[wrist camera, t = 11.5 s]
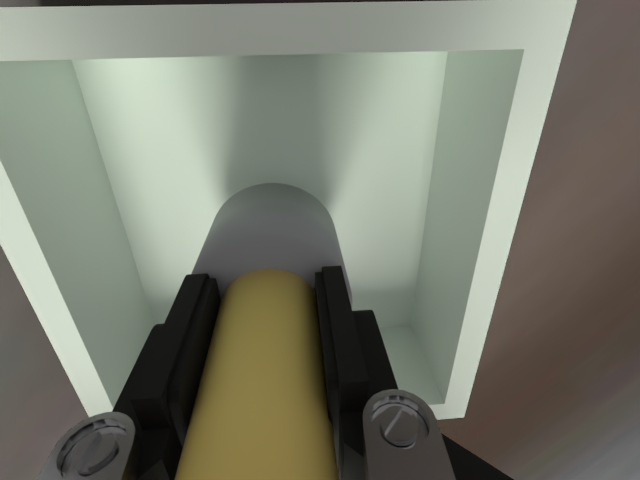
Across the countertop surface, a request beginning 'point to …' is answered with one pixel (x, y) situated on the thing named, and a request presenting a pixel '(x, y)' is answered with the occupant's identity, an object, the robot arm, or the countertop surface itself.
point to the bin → (271, 161)
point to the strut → (264, 342)
